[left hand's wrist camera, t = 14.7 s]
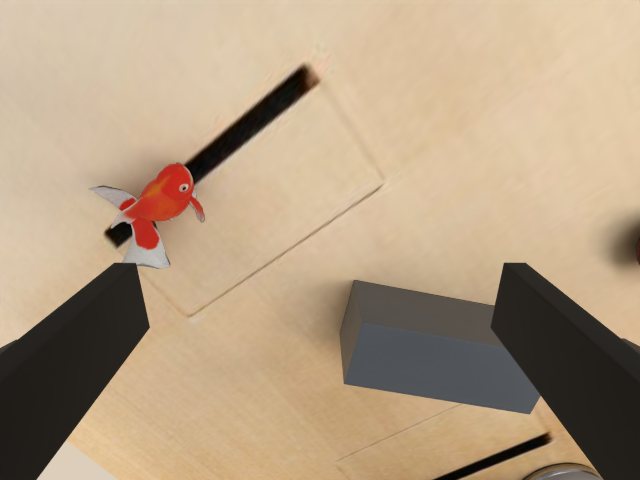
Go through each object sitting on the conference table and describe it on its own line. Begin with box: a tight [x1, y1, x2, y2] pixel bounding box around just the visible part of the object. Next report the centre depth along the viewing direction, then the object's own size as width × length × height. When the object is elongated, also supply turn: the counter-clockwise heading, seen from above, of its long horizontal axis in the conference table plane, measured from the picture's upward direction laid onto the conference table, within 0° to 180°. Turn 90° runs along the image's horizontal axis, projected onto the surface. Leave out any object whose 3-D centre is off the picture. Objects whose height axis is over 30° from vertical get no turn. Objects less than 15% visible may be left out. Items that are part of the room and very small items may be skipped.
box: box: [340, 280, 541, 414], centre depth 44 cm, size 23×9×10 cm, turn 78°
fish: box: [89, 163, 205, 269], centre depth 39 cm, size 11×16×10 cm
